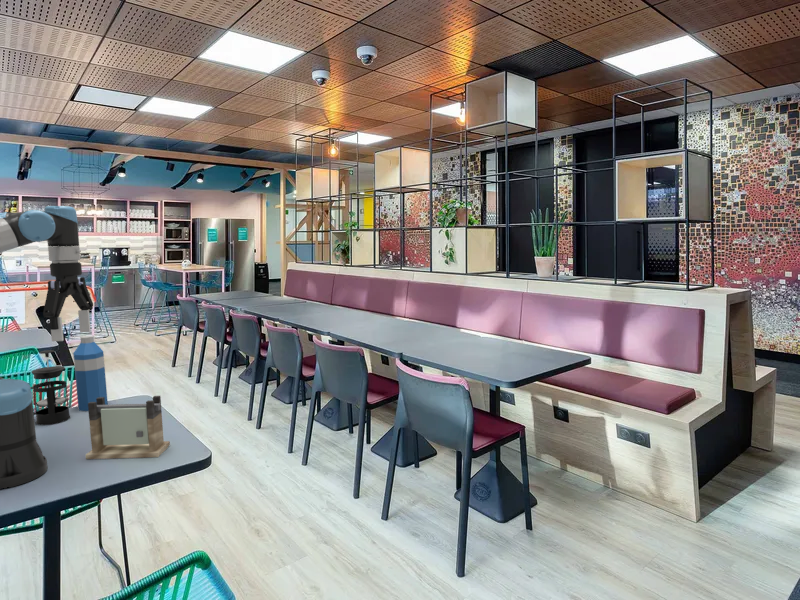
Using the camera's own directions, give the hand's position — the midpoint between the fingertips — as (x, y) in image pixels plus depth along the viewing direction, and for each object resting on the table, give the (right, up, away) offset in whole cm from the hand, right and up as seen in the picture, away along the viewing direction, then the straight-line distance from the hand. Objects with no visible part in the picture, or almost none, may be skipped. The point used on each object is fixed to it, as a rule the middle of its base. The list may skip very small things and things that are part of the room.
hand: (72, 336), depth 151 cm
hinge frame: (+19, -31, -6) cm, 37 cm away
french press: (-19, -29, +21) cm, 40 cm away
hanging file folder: (+19, -29, -6) cm, 35 cm away
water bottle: (-14, -27, +34) cm, 45 cm away
